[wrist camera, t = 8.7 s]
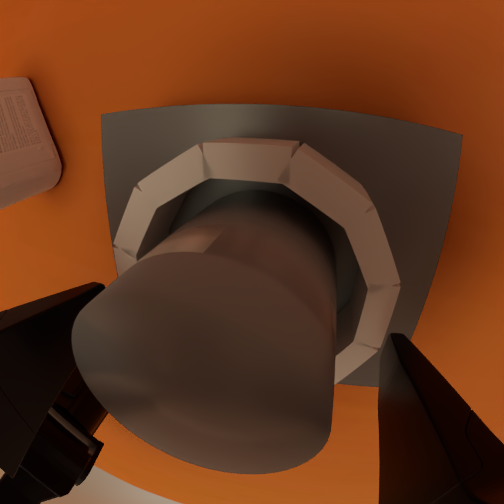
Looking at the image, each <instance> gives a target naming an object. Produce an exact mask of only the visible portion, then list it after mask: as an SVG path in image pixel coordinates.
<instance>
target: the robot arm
mask: <svg viewBox="0 0 504 504" xmlns="http://www.w3.org/2000/svg"><path fill="white" fill-rule="evenodd" d="M104 289H105V286H104V285H103V284H102V283H98V282H91V283H88V284H85V285H81V286H78V287H75V288H72V289H69V290H66V291H63V292H60V293H56V294H53V295H50V296H47V297H44V298H41V299H38V300H35V301H32V302H29V303H26V304H23V305H20V306H17V307H14V308H11V309H9V310H5V311H2V312H0V468H1V469H2V470H3V471H4V472H5V473H4V474H3V476H2V477H1V479H0V504H40V503H41V502H43V501H47V500H50V499H53V498H56V497H62V496H64V495H66V494H68V493H69V492H70V491H71V489H72V487H73V486H74V485H76V486H78V485H80V484H81V483H82V482H83V481H84V480H85V479H86V477H87V476H88V474H89V473H90V471H91V469H92V467H93V465H94V463H95V461H96V459H97V457H98V455H99V453H100V451H101V449H102V447H103V445H104V443H102V442H101V441H98V440H97V439H96V438H95V437H93V435H94V433H95V432H96V430H97V429H98V427H99V426H100V424H101V423H102V421H103V420H104V419H105V417H106V416H107V414H108V413H109V412H108V411H107V410H106V409H105V408H104V407H103V406H102V404H101V403H100V402H99V401H98V400H97V398H96V397H95V396H94V395H93V393H92V392H91V390H90V389H89V387H88V386H87V384H86V383H85V381H84V379H83V377H82V375H81V373H80V371H79V369H78V366H77V364H76V361H75V357H74V354H73V349H72V329H73V325H74V321H75V319H76V318H77V316H78V314H79V312H80V311H81V310H82V309H83V308H84V307H85V306H86V305H87V304H88V303H89V302H90V301H91V300H93V299H94V298H95V297H96V296H97V295H98V294H99V293H101V292H102V291H103V290H104ZM378 421H379V458H380V472H379V504H504V444H503V443H502V442H501V441H500V440H499V439H498V438H497V437H496V436H495V435H494V434H493V433H492V432H491V431H490V429H489V428H488V427H487V426H486V425H485V424H484V423H483V421H482V420H481V419H480V418H479V417H478V416H477V415H476V413H475V412H474V411H473V410H471V408H470V406H469V405H468V404H467V403H466V402H465V401H464V399H463V398H462V397H461V396H460V395H459V394H458V393H457V391H456V390H455V389H454V388H453V387H452V386H451V385H450V384H449V382H448V381H447V380H446V379H445V378H444V377H443V376H442V375H441V374H440V372H439V371H438V370H437V369H436V368H435V367H434V366H433V365H432V364H431V363H430V361H429V360H428V359H427V358H426V357H425V356H424V355H423V354H422V353H421V352H420V351H419V350H418V349H417V347H416V346H415V345H414V344H413V343H412V342H411V341H410V340H409V339H408V338H407V337H406V336H405V335H404V334H402V333H393V332H392V333H390V334H389V335H388V337H387V339H386V342H385V345H384V347H383V350H382V353H381V356H380V368H379V393H378Z"/></svg>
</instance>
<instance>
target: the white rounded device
mask: <svg viewBox="0 0 504 504" xmlns="http://www.w3.org/2000/svg"><path fill="white" fill-rule="evenodd" d="M61 167H62V166H61V162H60V158H59V155H58V152H57V150H56V147H55V145H54V142H53V140H52V137H51V135H50V132H49V130H48V127H47V125H46V122H45V119H44V117H43V114H42V112H41V109H40V106H39V104H38V101H37V98H36V95H35V92H34V90H33V87H32V85H31V83H30V81H29V79H28V78H26V77H12V78H0V210H1V209H3V208H5V207H7V206H10V205H12V204H14V203H17V202H19V201H22V200H24V199H26V198H29V197H31V196H34V195H36V194H39V193H42V192H44V191H47V190H49V189H51V188H53V187H54V186H55V185H56V184H57V182H58V181H59V178H60V175H61Z"/></svg>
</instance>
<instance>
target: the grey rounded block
mask: <svg viewBox="0 0 504 504" xmlns="http://www.w3.org/2000/svg"><path fill="white" fill-rule="evenodd" d="M72 349H73V354H74V357H75V361H76V364H77V366H78V369H79V371H80V373H81V375H82V377H83V379H84V381H85V383H86V384H87V386H88V387H89V389H90V390H91V392H92V393H93V395H94V396H95V397H96V398H97V400H98V401H99V402H100V403H101V404H102V406H103V407H104V408H105V409H106V410H107V411H108V412H109V413H110V414H111V415H112V416H113V417H114V418H115V419H116V420H117V421H118V422H120V423H121V424H122V425H123V426H124V427H126V428H127V429H128V430H129V431H131V432H132V433H133V434H135V435H136V436H138V437H139V438H141V439H142V440H144V441H145V442H147V443H148V444H150V445H152V446H154V447H155V448H157V449H159V450H161V451H163V452H165V453H167V454H169V455H171V456H173V457H176V458H178V459H180V460H183V461H185V462H188V463H191V464H194V465H197V466H201V467H204V468H208V469H212V470H217V471H222V472H229V473H237V474H266V473H275V472H280V471H284V470H288V469H291V468H294V467H297V466H299V465H301V464H303V463H305V462H307V461H309V460H310V459H312V458H313V457H314V456H316V455H317V454H318V453H319V452H320V451H321V450H322V449H323V447H324V446H325V444H326V442H327V441H328V438H329V435H330V432H331V423H332V411H333V397H334V380H335V358H336V257H335V252H334V248H333V245H332V242H331V239H330V237H329V235H328V233H327V231H326V230H325V228H324V227H323V225H322V224H321V223H320V221H319V220H318V219H317V218H316V217H315V216H314V215H313V214H312V213H311V212H310V211H309V210H308V209H306V208H305V207H304V206H303V205H301V204H299V203H298V202H296V201H294V200H293V199H290V198H288V197H286V196H284V195H281V194H277V193H274V192H269V191H262V190H247V191H239V192H235V193H231V194H228V195H226V196H224V197H221V198H219V199H218V200H216V201H215V202H213V203H211V204H210V205H209V206H207V207H206V208H205V209H203V210H202V211H201V212H199V213H198V214H197V215H195V216H194V217H193V218H192V219H190V220H189V221H188V222H186V223H185V224H184V225H182V226H181V227H180V228H179V229H177V230H176V231H175V232H173V233H172V234H171V235H170V236H168V237H167V238H166V239H165V240H163V241H162V242H161V243H160V244H158V245H157V246H156V247H155V248H153V249H152V250H151V251H150V252H148V253H147V254H146V255H145V256H143V257H142V258H141V259H140V260H139V261H137V262H136V263H135V264H134V265H132V266H131V267H130V268H129V269H128V270H126V271H125V272H124V273H123V274H122V275H120V276H119V277H118V278H117V279H116V280H115V281H113V282H112V283H111V284H110V285H109V286H108V287H106V288H105V289H104V290H103V291H102V292H101V293H99V294H98V295H97V296H96V297H95V298H94V299H93V300H91V301H90V302H89V303H88V304H87V305H86V306H85V307H84V308H83V309H82V310H81V311H80V312H79V314H78V316H77V318H76V319H75V321H74V325H73V329H72Z"/></svg>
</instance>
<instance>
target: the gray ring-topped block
mask: <svg viewBox="0 0 504 504" xmlns="http://www.w3.org/2000/svg"><path fill="white" fill-rule="evenodd" d="M101 131H102V154H103V169H104V182H105V192H106V202H107V211H108V219H109V226H110V233H111V240H112V246H113V253H114V258H115V264H116V270H117V275H118V277H119V276H120V275H122V274H123V273H124V272H125V271H126V270H128V269H129V268H130V267H131V266H132V265H134V264H135V263H136V262H137V261H139V260H140V259H141V258H142V257H143V256H145V255H146V254H147V253H148V252H150V251H151V250H152V249H153V248H155V247H156V246H157V245H158V244H160V243H161V242H162V241H163V240H165V239H166V238H167V237H168V236H170V235H171V234H172V233H173V232H175V231H176V230H177V229H179V228H180V227H181V226H182V225H184V224H185V223H186V222H188V221H189V220H190V219H192V218H193V217H194V216H195V215H197V214H198V213H199V212H201V211H202V210H203V209H205V208H206V207H207V206H209V205H210V204H211V203H213V202H215V201H216V200H218V199H219V198H221V197H224V196H226V195H228V194H231V193H235V192H239V191H247V190H262V191H269V192H274V193H277V194H281V195H284V196H286V197H288V198H290V199H293V200H294V201H296V202H298V203H299V204H301V205H303V206H304V207H305V208H306V209H308V210H309V211H310V212H311V213H312V214H313V215H314V216H315V217H316V218H317V219H318V220H319V221H320V223H321V224H322V225H323V227H324V228H325V230H326V231H327V233H328V235H329V237H330V239H331V242H332V245H333V248H334V252H335V257H336V358H335V380H334V385H335V384H347V385H358V386H370V387H379V368H380V356H381V353H382V350H383V347H384V345H385V342H386V339H387V337H388V335H389V334H390V333H392V332H393V333H402V334H404V335H405V336H406V337H407V338H408V339H409V340H411V338H412V335H413V333H414V330H415V328H416V325H417V323H418V320H419V317H420V315H421V312H422V309H423V307H424V304H425V301H426V298H427V295H428V292H429V289H430V286H431V283H432V280H433V277H434V274H435V271H436V267H437V264H438V260H439V257H440V253H441V250H442V246H443V242H444V238H445V234H446V230H447V226H448V222H449V217H450V213H451V208H452V203H453V198H454V193H455V187H456V181H457V175H458V169H459V162H460V154H461V146H462V136H463V135H461V134H457V133H454V132H450V131H446V130H443V129H439V128H435V127H431V126H426V125H422V124H418V123H413V122H408V121H403V120H398V119H393V118H388V117H382V116H376V115H370V114H364V113H357V112H350V111H342V110H333V109H324V108H314V107H302V106H288V105H267V104H202V105H182V106H168V107H156V108H146V109H137V110H128V111H121V112H114V113H107V114H101Z"/></svg>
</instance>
